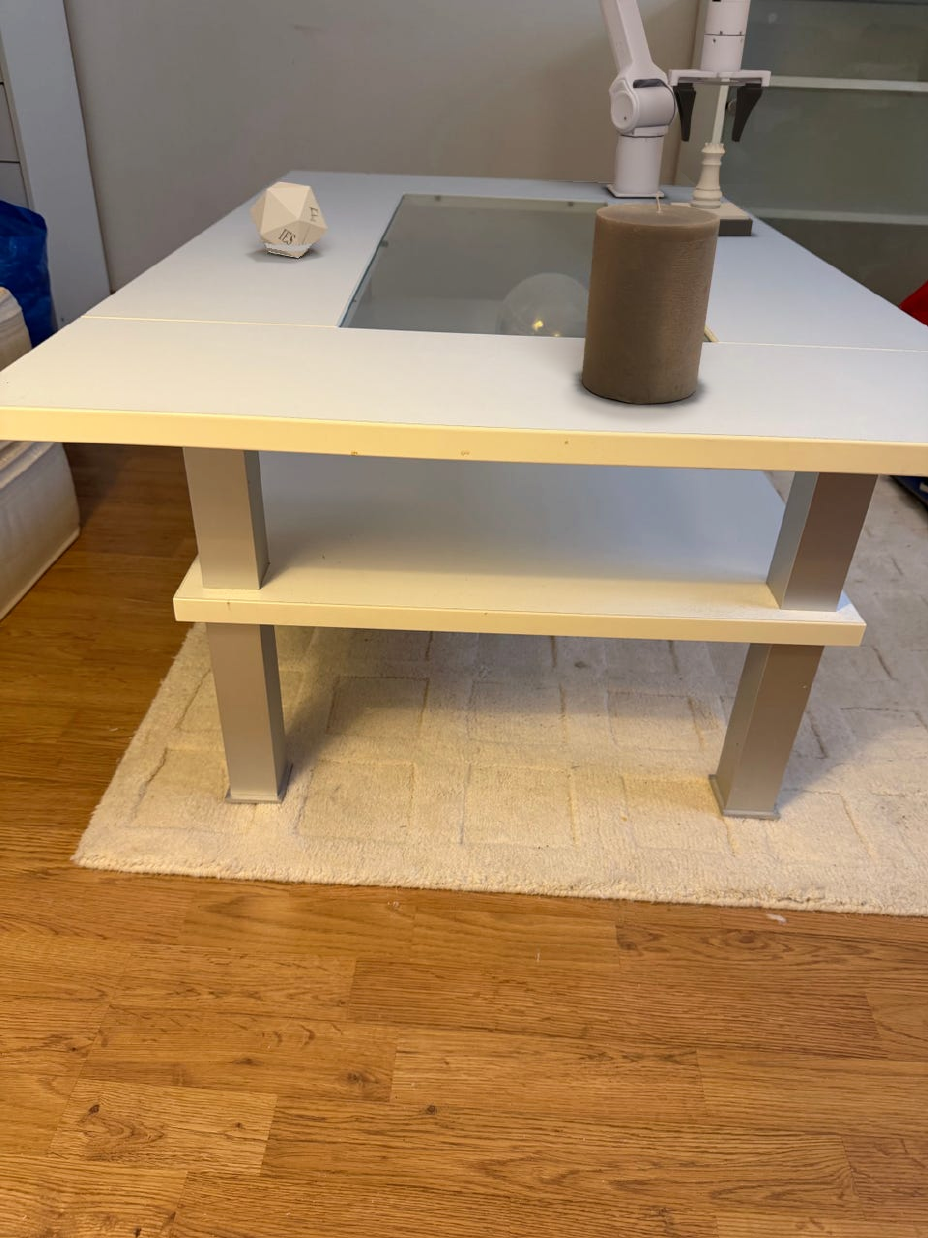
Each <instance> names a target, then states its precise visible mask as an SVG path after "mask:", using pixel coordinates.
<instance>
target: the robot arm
mask: <svg viewBox="0 0 928 1238" xmlns="http://www.w3.org/2000/svg"><path fill="white" fill-rule="evenodd" d="M597 2H598V4H599V5H598V6H599V9H600V12H601V16H602V19H603V24H604V28H605V31H606V35H607V39H608V42H609V46H610V51H611V54H612V58H613V61H614V65H615V69H616V73H617V75H616V77H615V78H614V80H613V81H612V82H611V84H610V86H609V88H608V96H609V98H610V110H609V111H610V112H609V113H610V120H611V123H612V126H613V127H614V129H615V134H616V135H618V140H617V141H618V142H617V145H616V147H615V157H614V168H613V179H612V184H609V183H608V184H606V188H607V189H608V190H609V191H610V192H611V193H612V194H613V195H614V197H616V198H656V195H658V198H665V193H664V192H663V191H661V190H660V189H659V187H660V178H661V177H660V176H661V168H662V160H663V159H662V158H663V150H664V141H665V135H667V134H668V132H669V128H670V127H671V126H672V125H673V123H674V122H675V121H676V119H677V116H679V121H680V122H679V123H680V141H682V142H688V143H689V141H690V137H691V129H692V117H693V113H694V112H693V111H694V108H695V107H694V105H695V101H696V97H697V90H695V86H707V87H709V86H712V87H713V86H717V87H718V86H719V87H720V86H721V87H722V86H723V87H724V86H725V87H729V86H731V87H737V88H736V100H735V101H736V102H735V113H734V119H733V125H732V131H731V141H732V142H735V143H740V141H741V138H742V135H743V132H744V129H745V127H746V124H747V122H748V120H749V117H750V115H751V114H752V112H753V110H754V108H755V106H756V105H757V103H758V102H759V100H760V99H761V97H762V95H763V91H764V88H763V87H769V86H770V81H771V74H772V71H771V70H767V69H765V70H762V69H761V70H759V69H758V70H757V69H741V68H742V67H741V66H742V61H743V54H744V47H745V41H746V34H747V26H748V22H749V21H748V20H749V14H750V13H749V12H750V6H751V2H752V1H751V0H708V4H707V11H706V20H705V27H704V35H703V43H702V50H701V51H702V52H701V58H700V67H699V68H696V69H669V70H668V76H667V73H666V72H664V71H663V70H662V69H661V68H660V67H659V66H657V65H656V64H655V63H654V62H653V60H652V56H651V53H650V52H651V51H650V49H649V44H648V41H647V37H646V32H645V29H644V25H643V22H642V17H641V13H640V10H639V6H638V1H637V0H598V1H597ZM709 79H729V80H730V81H725V80H724V81H718V80H717V81H712V80H711V81H710V80H709ZM708 80H709V81H708Z"/></svg>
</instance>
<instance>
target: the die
mask: <svg viewBox="0 0 928 1238" xmlns="http://www.w3.org/2000/svg"><path fill="white" fill-rule="evenodd" d="M249 214H250V215H251V218H252V220H253V223H254V225H255V228H256V230H257V232H258V234H259V237H260V239H261V240H263V241H262V243H263V242H264V243H268V244H273V245H286V246H287V245H289V246H300V245H301V244H302V245H307V244H312V243H314V244H316V243H317V242H318V241H319V240H320V238H322V237H323V235H324V234H326V233H327V231H328V230H329V228H328V226H327V223H326V221H325V219H324V216H323V214H322V212H321V209H320V207H319V204H318V202H317V200H316V197H315V195H314V193H313V190H312V188H311V186H310V185H305V184H299V183H292V182H285V181H277V182H276V183H274V184H272V185H271V186H269V187H267V188H266V189H265V191H263V193H262V194H261V196H260V197H259V198H258V199H257V201H255V203H254V204H253V205H252V207H251V208H250V209H249ZM264 243H263V244H264ZM265 249H266V252H267V251H271V252H275V253H280V254H284V255H289V256H293V257H300V256H301V257H302V256H303V255H304V254H305V253H307V252H308V251H309V250H308V249H307V250H302V251H282V250H277V249H272V248H267V247H265ZM301 257H300V258H301Z"/></svg>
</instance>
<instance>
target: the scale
mask: <svg viewBox="0 0 928 1238" xmlns="http://www.w3.org/2000/svg"><path fill="white" fill-rule="evenodd" d="M669 205H680V206H688V207H694V206H692V204H691V202H670V203H669ZM694 208H697V207H694ZM698 209H702V210H709V211H713V212H714V213H717V214H718V215H719V216H720V225H719V232H718V237H721V236H723V237H727V236H728V237H732V236H733V237H734V236H735V237H740V236H741V237H745V236H746V237H749V236H752V230H753V223H754V220H753V219H752V218H751V217H750V214H748V213H747V212H745V211H744V210H743V209H741V208H740V207H738V206H737V205H735V203H732V202H722V204H721V205H720V206H719V207H718V208H709V209H708V208H698Z"/></svg>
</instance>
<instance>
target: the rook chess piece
mask: <svg viewBox="0 0 928 1238" xmlns="http://www.w3.org/2000/svg"><path fill="white" fill-rule="evenodd" d="M724 145H725V144H724V143H723V142H722V143H720V142H715V144H714V142H705V143H704V147H703V148H702V149H701V150H700V151H701V154H702V156H703V160H702V161H701V165H702V167H701V172H700V176H699V180H698V183H697V185H696V186H695V189H694V190H692V193H691V197H692V199H691V200H690V202H689V203H691V204H692V206H694V207H697V208H708V209H709V208H718V207H719V206H720V205H721V204H722V203H723V202H722V201H721V199H722V198H723V192H722V191H721V186H720V169H721V166H722V161H721V160H722V157H723V156H724V154H725V153H726V150H725V149H724Z"/></svg>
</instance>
